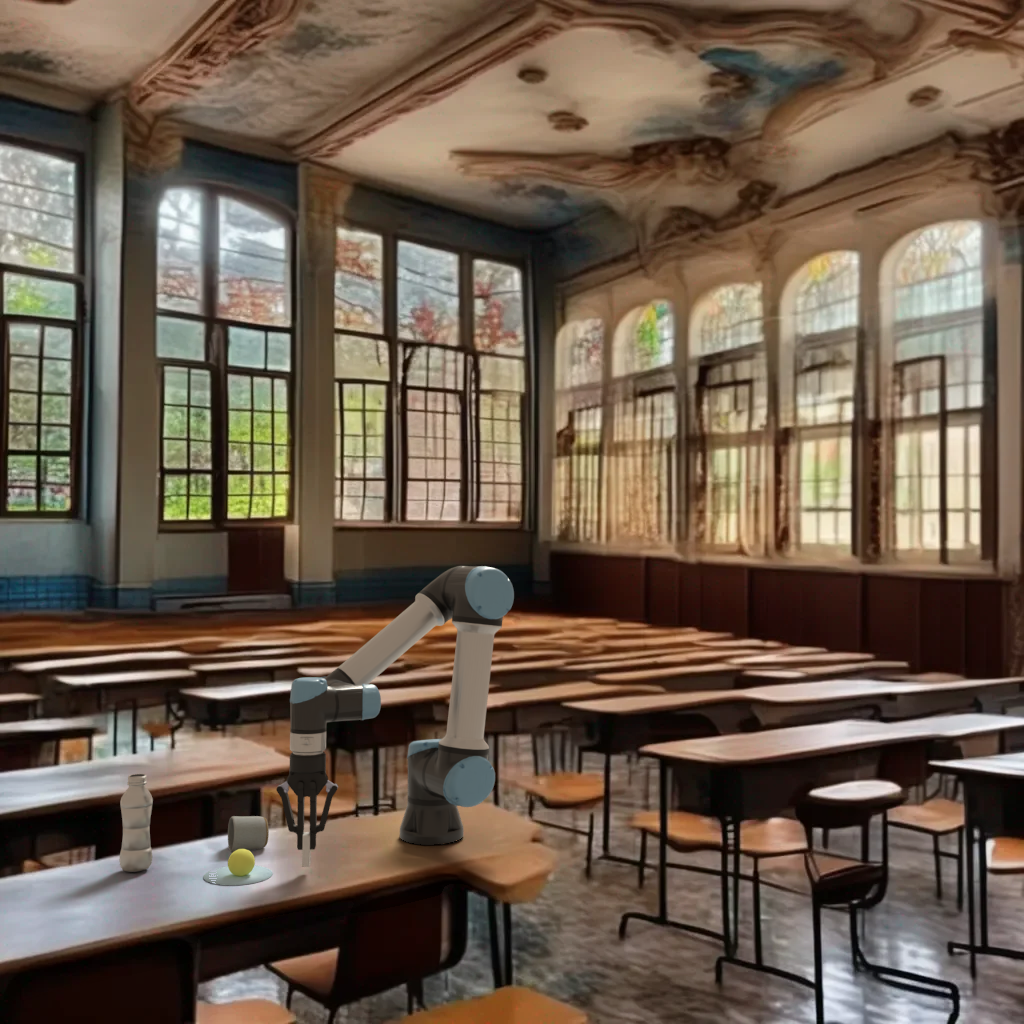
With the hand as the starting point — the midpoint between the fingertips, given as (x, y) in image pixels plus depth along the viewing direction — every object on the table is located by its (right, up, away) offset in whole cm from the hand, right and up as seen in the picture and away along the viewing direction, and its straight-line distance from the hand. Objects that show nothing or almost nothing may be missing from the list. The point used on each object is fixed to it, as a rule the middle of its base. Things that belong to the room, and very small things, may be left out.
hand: (306, 864), depth 233 cm
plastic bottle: (-36, -2, +1) cm, 36 cm away
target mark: (-14, -2, -1) cm, 14 cm away
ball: (-13, +1, -2) cm, 13 cm away
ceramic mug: (-18, -3, +20) cm, 27 cm away
